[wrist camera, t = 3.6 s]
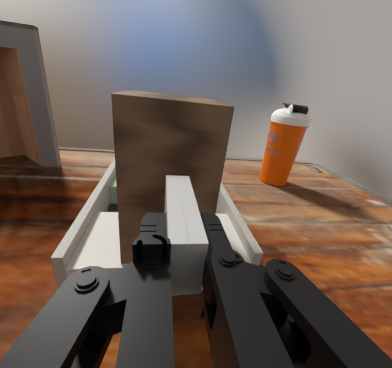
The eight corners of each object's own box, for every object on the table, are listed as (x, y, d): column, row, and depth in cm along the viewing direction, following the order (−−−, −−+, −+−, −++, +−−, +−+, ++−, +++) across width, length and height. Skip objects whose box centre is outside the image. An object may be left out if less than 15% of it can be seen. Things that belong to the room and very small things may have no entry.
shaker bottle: (277, 174, 63) (298, 104, 55) (296, 187, 55) (323, 108, 47) (250, 174, 61) (267, 101, 52) (266, 187, 53) (289, 104, 45)
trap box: (60, 298, 21) (47, 245, 18) (117, 178, 48) (115, 149, 45) (252, 288, 25) (266, 242, 22) (205, 182, 52) (209, 155, 49)
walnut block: (120, 263, 21) (111, 93, 15) (132, 214, 29) (129, 89, 23) (206, 261, 23) (234, 106, 16) (195, 215, 31) (210, 99, 24)
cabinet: (-47, 164, 46) (-111, 3, 34) (-14, 151, 54) (-56, 19, 43) (58, 169, 49) (33, 25, 38) (73, 156, 58) (56, 36, 46)
